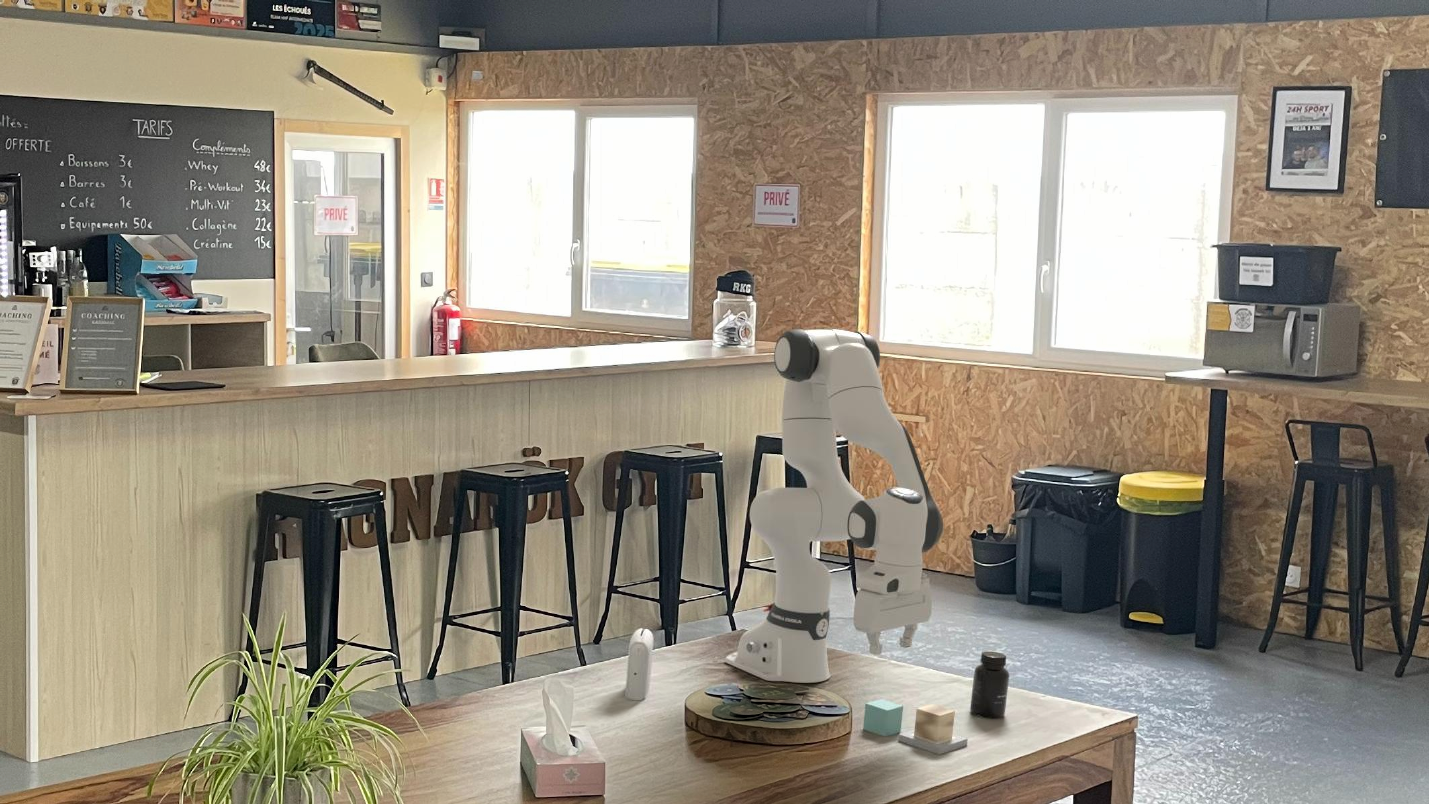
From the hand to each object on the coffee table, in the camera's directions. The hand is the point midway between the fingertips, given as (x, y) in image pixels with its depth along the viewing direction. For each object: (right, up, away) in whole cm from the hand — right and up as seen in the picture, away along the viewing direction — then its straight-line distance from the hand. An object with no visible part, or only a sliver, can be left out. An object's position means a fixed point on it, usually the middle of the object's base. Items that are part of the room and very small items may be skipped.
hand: (890, 650), depth 293 cm
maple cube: (+7, -15, -3) cm, 17 cm away
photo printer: (-47, -10, +12) cm, 50 cm away
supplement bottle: (+21, -16, +18) cm, 32 cm away
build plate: (+7, -16, -3) cm, 18 cm away
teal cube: (-1, -15, +2) cm, 15 cm away
